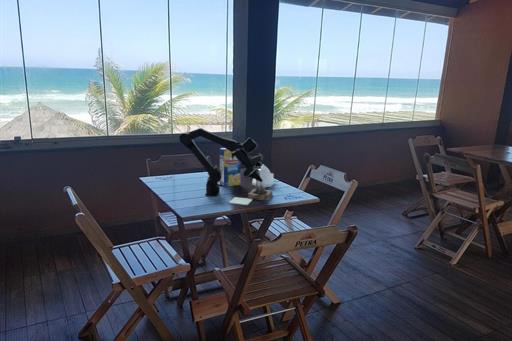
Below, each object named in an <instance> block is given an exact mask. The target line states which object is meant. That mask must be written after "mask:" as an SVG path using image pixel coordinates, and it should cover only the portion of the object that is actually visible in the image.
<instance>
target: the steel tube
mask: <svg viewBox="0 0 512 341" xmlns="http://www.w3.org/2000/svg"><path fill="white" fill-rule="evenodd" d="M257 173H258V174H259V176H260V177H261V179H262V180H263V181H262V182H260V181H258V180H256V186H255V189H256V192H257V193H264V192H265V190H266V187H265V178H266V169H261V168H260V169H257Z"/></svg>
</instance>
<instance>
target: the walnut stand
mask: <svg viewBox="0 0 512 341" xmlns="http://www.w3.org/2000/svg"><path fill="white" fill-rule="evenodd" d="M272 196H273V190H268V189H267V190H266V189H265V192H264V193H257V192H256V188H252V190H251V191H250V192H248V193H247V198H248V199H253V200H257V201H258V200H259V201H269V200H270V199H271V198H272Z"/></svg>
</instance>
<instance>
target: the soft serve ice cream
mask: <svg viewBox="0 0 512 341" xmlns="http://www.w3.org/2000/svg"><path fill="white" fill-rule="evenodd" d="M260 166H261V169H266V178H265V188H270V187H271V186H273V185H274V173H272V172H271V171H270V169H269V168H268V167H267V166H266V165H265V164H263V163H262V164H261V165H260ZM251 185H252V186H254V187H256V179H253V178H252V181H251Z"/></svg>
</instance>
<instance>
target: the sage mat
mask: <svg viewBox="0 0 512 341" xmlns="http://www.w3.org/2000/svg"><path fill="white" fill-rule="evenodd" d="M253 200H254V199H248V197H237V196H234V197H233V198H232V199H231V200H230V201H228V204H231V205H232V204H233V205H240V206H241V205H242V206H249V204H250V203H251V202H252V201H253Z"/></svg>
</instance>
